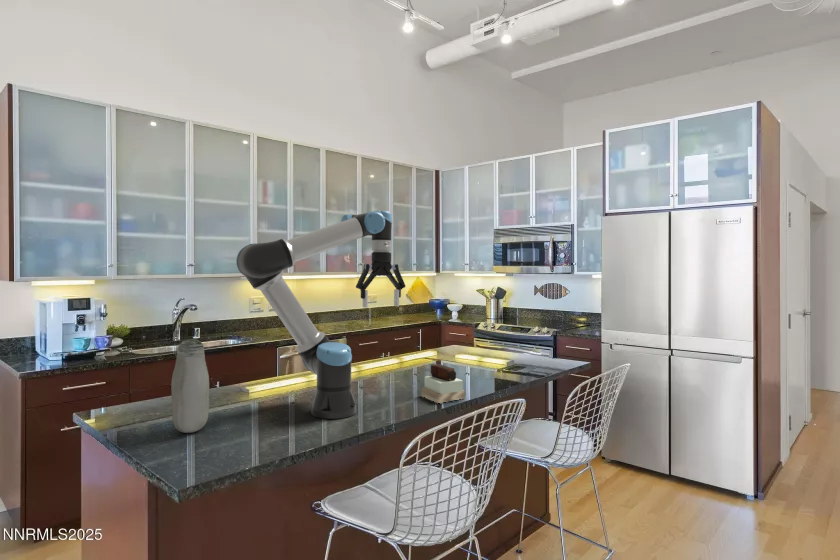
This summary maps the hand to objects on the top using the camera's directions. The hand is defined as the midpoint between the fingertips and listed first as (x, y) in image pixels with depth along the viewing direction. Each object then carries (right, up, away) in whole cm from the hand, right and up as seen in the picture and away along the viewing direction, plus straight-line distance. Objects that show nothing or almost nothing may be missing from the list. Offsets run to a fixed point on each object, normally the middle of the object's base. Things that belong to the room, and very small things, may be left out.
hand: (381, 306), depth 200 cm
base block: (+24, -36, 0) cm, 43 cm away
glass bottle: (-55, -36, -43) cm, 78 cm away
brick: (+24, -28, 0) cm, 37 cm away
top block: (+24, -32, 0) cm, 40 cm away
